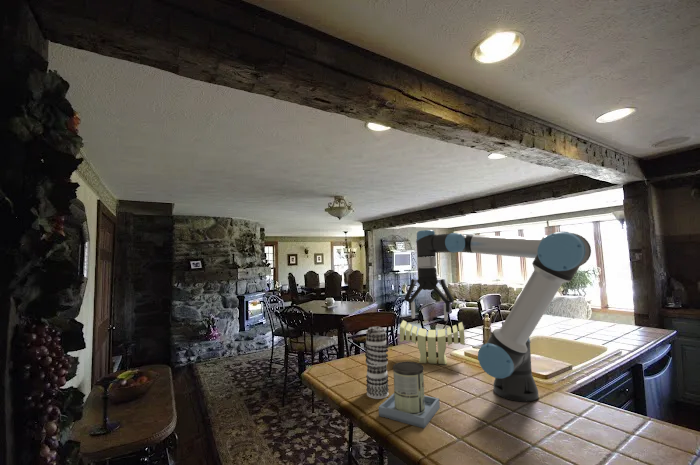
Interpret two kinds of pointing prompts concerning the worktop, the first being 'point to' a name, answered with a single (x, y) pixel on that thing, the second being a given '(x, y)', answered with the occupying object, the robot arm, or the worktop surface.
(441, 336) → the slatted curved stool
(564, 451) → the worktop surface
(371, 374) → the decorative candle
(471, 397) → the worktop surface
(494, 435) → the worktop surface
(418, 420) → the tray
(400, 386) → the coffee can
